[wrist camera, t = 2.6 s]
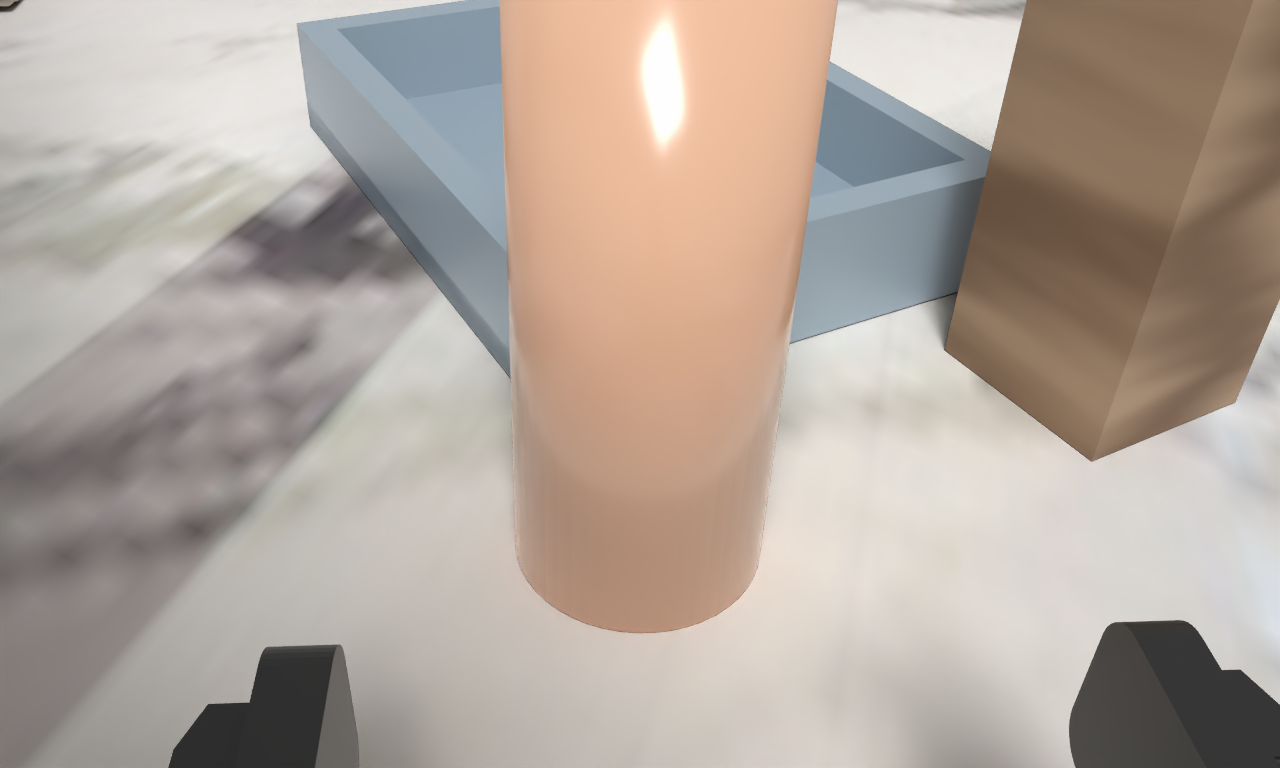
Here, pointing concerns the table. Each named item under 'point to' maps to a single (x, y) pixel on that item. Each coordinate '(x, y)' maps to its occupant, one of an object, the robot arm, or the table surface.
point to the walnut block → (1127, 216)
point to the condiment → (6, 2)
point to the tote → (475, 179)
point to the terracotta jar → (653, 289)
